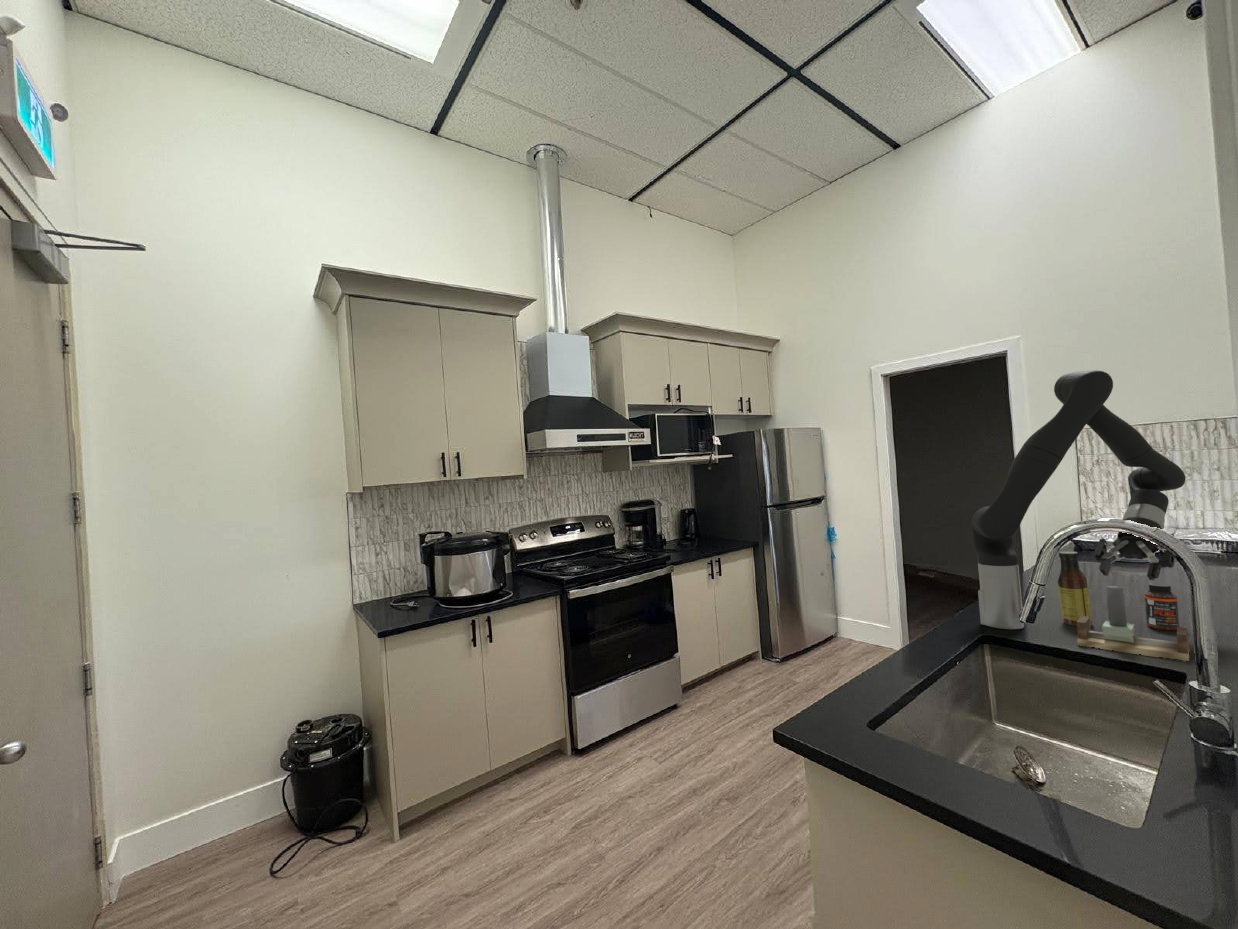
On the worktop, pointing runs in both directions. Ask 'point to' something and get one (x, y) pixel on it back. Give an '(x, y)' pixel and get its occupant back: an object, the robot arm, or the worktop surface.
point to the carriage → (1117, 617)
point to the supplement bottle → (1161, 607)
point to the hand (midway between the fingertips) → (1126, 575)
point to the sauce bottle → (1073, 589)
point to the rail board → (1135, 643)
